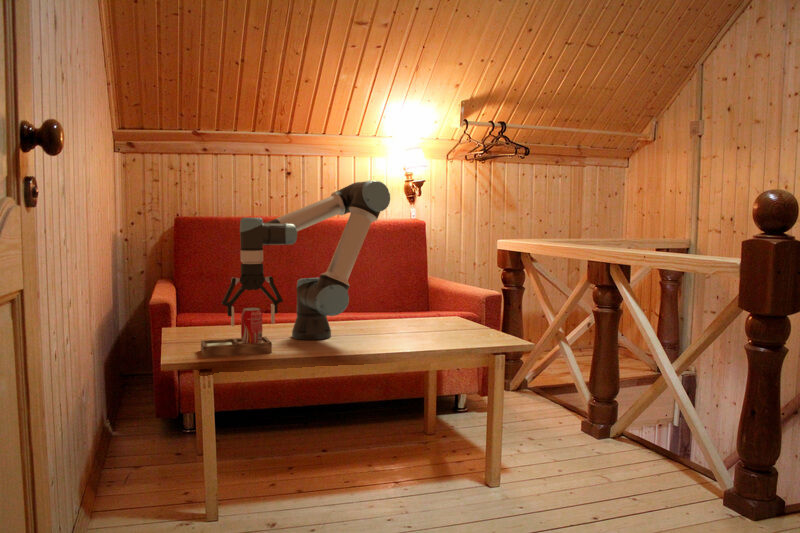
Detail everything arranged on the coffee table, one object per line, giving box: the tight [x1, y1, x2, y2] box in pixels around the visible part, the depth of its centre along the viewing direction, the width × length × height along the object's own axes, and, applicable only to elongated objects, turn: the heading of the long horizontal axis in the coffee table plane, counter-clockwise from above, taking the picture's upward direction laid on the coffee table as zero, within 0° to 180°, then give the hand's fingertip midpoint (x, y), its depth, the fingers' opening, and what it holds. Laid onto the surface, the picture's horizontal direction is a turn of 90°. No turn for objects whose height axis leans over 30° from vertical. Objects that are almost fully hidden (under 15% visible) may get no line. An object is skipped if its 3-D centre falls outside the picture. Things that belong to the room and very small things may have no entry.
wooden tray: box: [200, 336, 273, 358], centre depth 193 cm, size 22×11×4 cm, turn 113°
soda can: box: [240, 307, 263, 344], centre depth 194 cm, size 7×7×12 cm
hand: (253, 324), depth 194 cm, fingers open, 13 cm apart
